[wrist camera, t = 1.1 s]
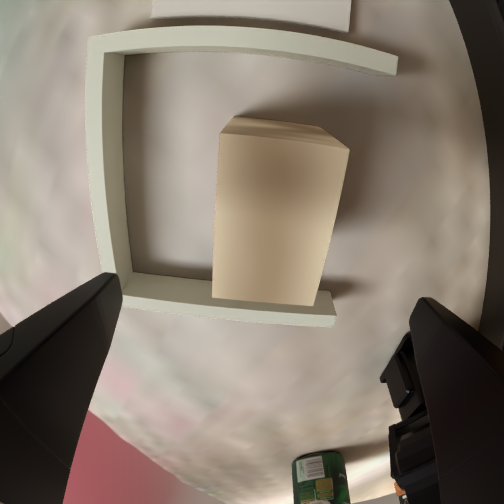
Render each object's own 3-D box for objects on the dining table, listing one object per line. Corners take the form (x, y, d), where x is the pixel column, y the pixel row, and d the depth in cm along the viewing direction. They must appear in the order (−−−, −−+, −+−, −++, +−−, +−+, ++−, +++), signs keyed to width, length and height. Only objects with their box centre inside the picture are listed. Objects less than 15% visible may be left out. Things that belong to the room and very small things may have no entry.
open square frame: (379, 59, 13) (398, 56, 11) (326, 302, 21) (332, 327, 19) (110, 40, 12) (88, 36, 10) (122, 282, 21) (109, 304, 18)
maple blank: (319, 126, 15) (349, 149, 10) (299, 241, 19) (313, 305, 13) (233, 116, 15) (219, 133, 10) (225, 233, 19) (211, 297, 13)
